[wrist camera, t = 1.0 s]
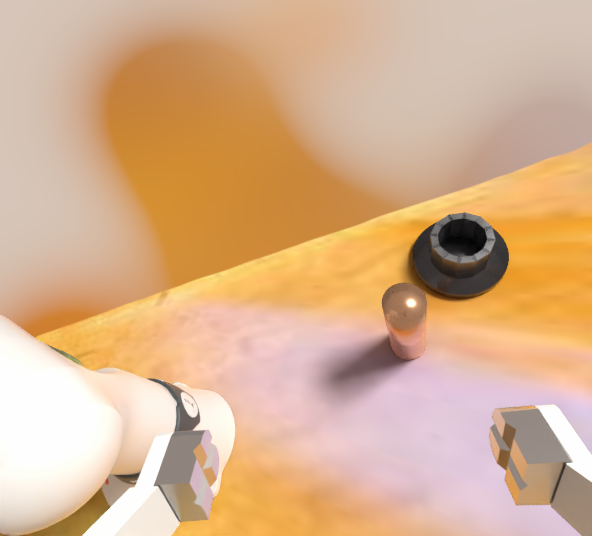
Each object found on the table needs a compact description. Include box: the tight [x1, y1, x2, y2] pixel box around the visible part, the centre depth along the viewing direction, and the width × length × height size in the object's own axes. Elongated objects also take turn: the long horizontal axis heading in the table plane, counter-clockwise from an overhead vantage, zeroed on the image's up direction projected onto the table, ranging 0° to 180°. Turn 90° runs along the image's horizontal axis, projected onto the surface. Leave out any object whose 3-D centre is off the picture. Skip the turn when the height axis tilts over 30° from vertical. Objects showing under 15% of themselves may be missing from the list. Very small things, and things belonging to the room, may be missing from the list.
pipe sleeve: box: [413, 213, 509, 298], centre depth 59 cm, size 14×14×6 cm
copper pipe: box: [382, 283, 427, 360], centre depth 51 cm, size 5×5×16 cm
